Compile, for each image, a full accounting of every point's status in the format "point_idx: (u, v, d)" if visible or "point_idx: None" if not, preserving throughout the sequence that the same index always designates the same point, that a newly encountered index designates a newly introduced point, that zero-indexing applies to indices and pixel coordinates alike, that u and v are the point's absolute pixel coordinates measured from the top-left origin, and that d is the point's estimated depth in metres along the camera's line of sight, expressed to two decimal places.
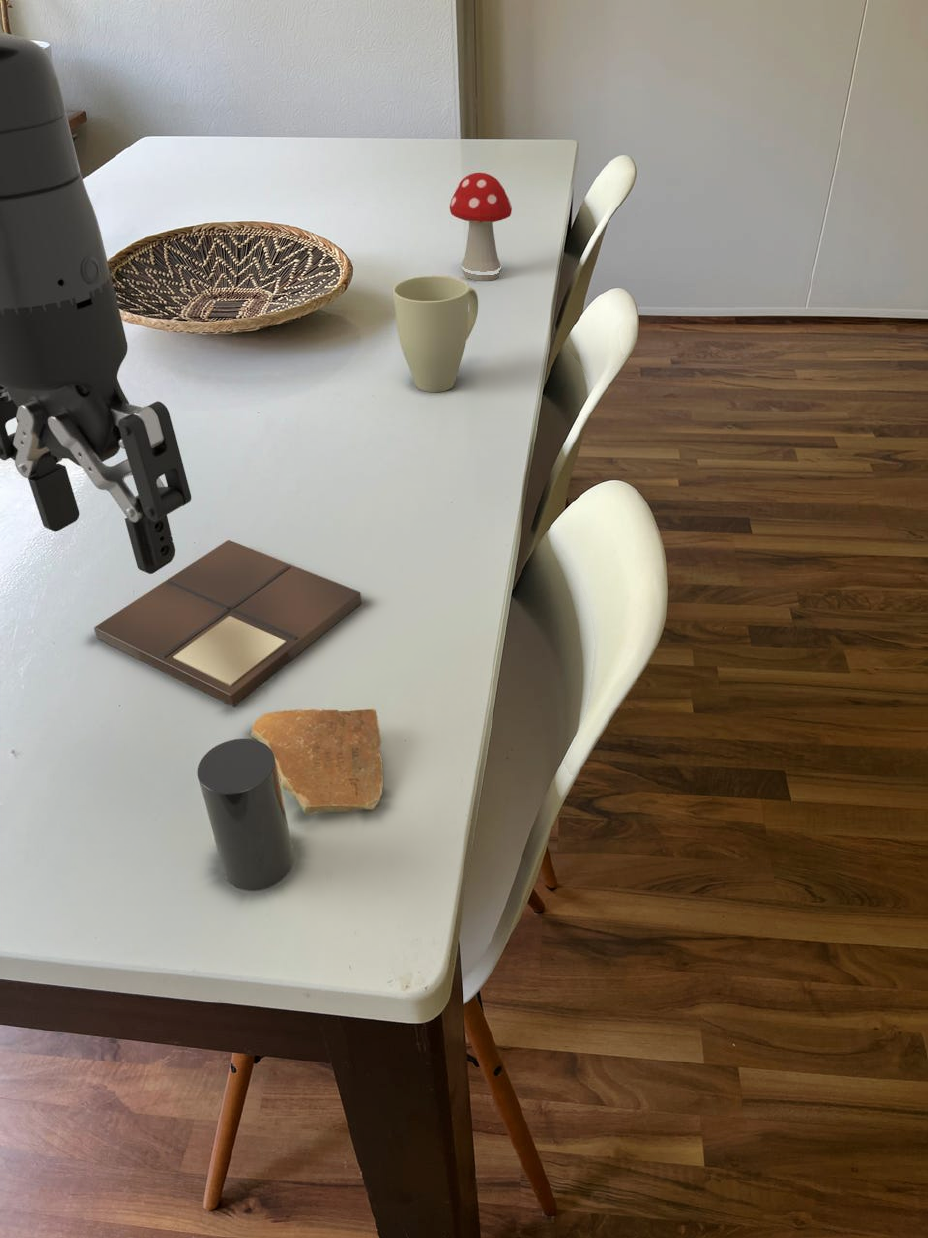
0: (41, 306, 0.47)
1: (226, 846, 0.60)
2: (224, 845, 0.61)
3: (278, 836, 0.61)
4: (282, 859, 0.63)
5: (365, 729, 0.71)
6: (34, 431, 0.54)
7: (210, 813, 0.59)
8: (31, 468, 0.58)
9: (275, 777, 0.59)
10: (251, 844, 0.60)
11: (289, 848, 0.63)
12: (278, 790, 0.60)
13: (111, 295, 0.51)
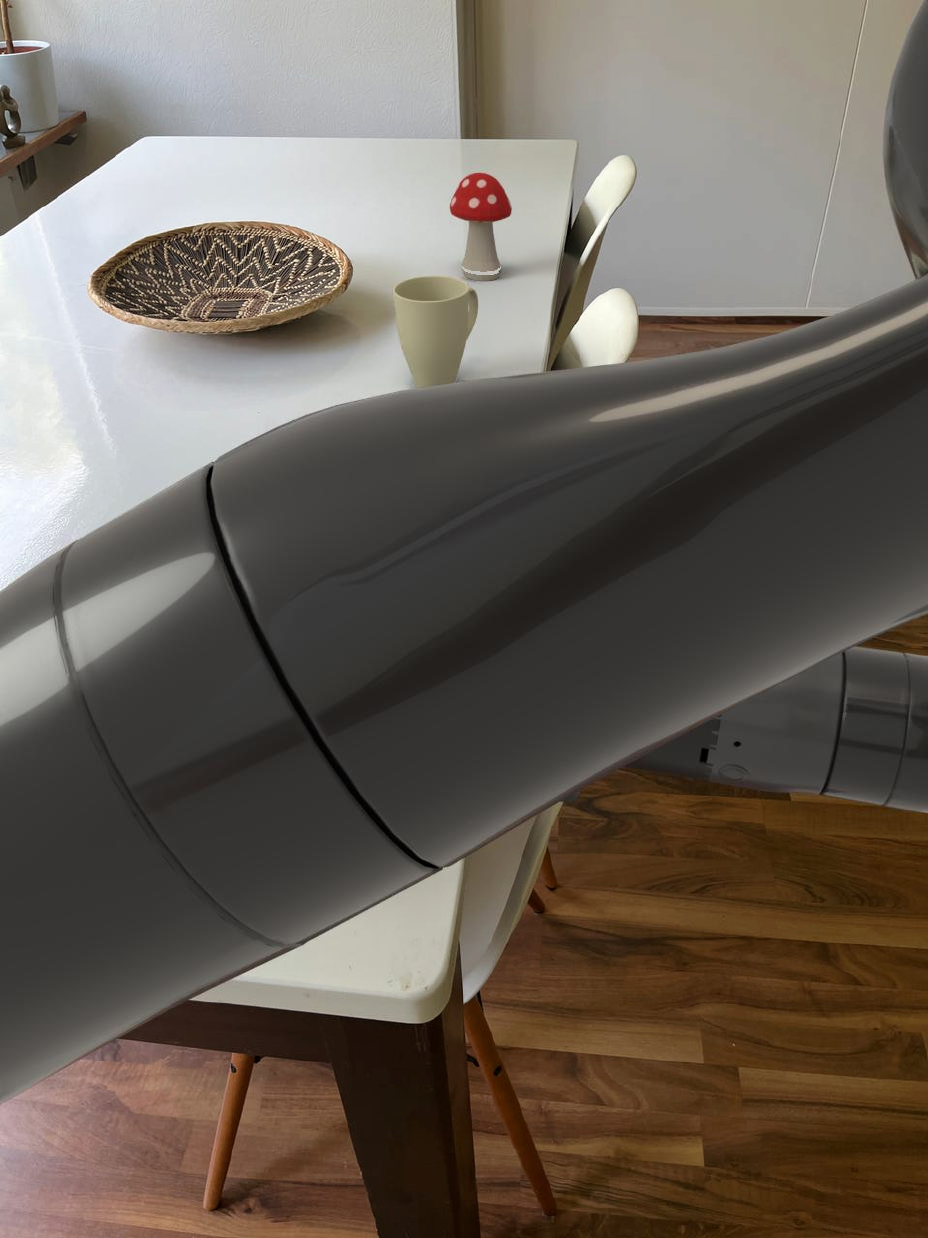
0: (720, 715, 0.43)
1: None
2: None
3: None
4: None
5: None
6: None
7: None
8: None
9: None
10: None
11: None
12: None
13: (692, 777, 0.45)
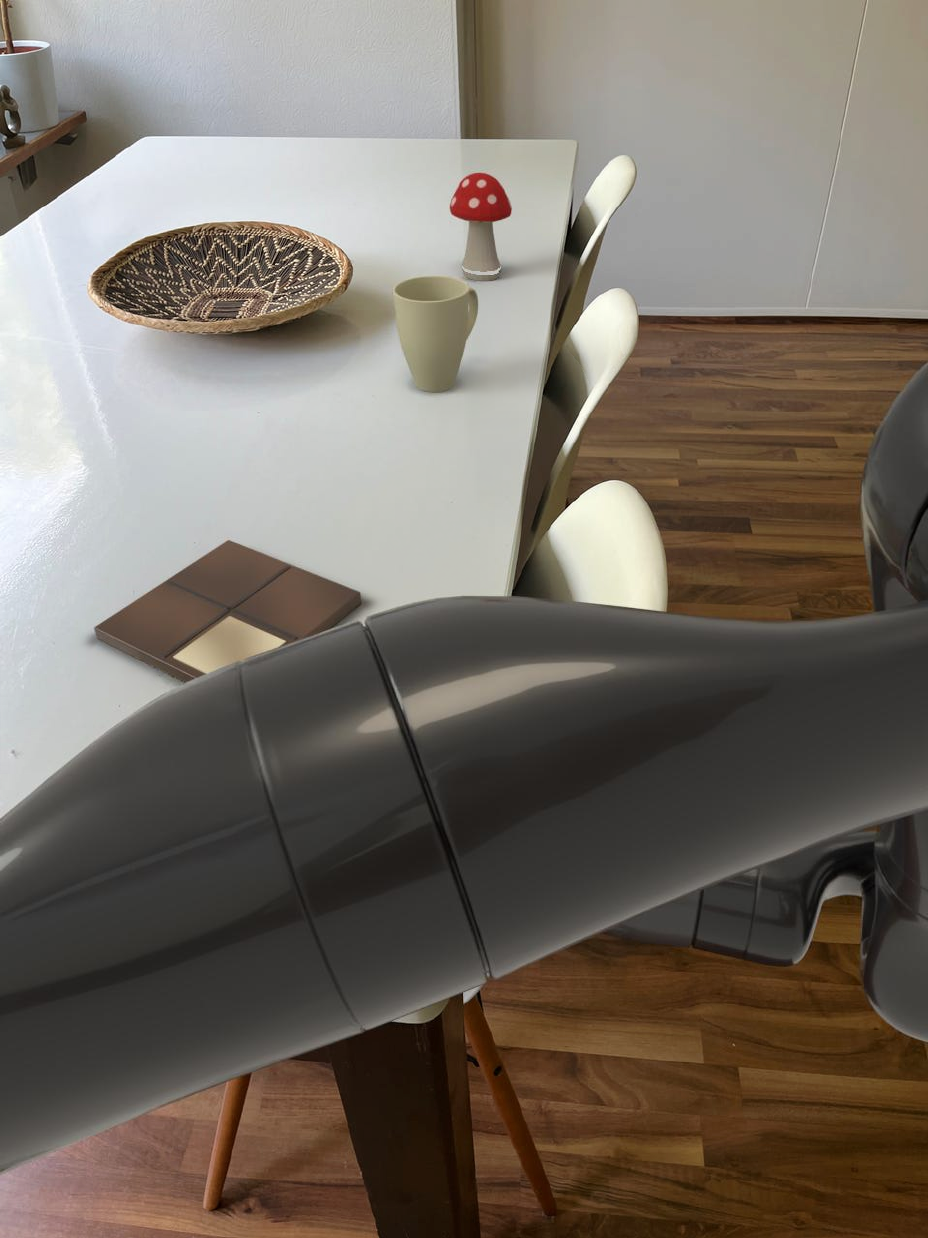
0: None
1: None
2: None
3: None
4: None
5: None
6: None
7: None
8: None
9: None
10: None
11: None
12: None
13: None
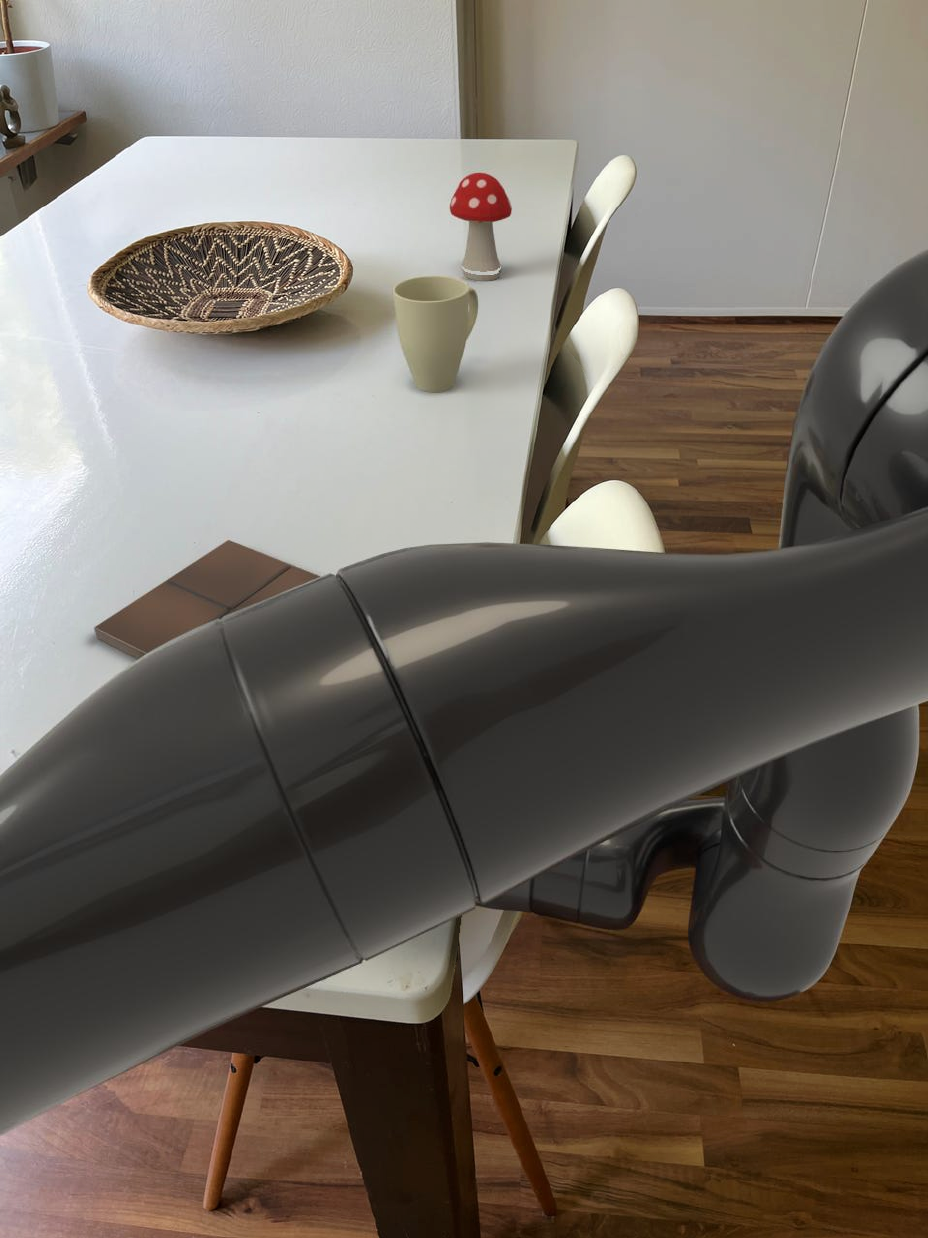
0: None
1: None
2: None
3: None
4: None
5: None
6: None
7: None
8: None
9: None
10: None
11: None
12: None
13: None
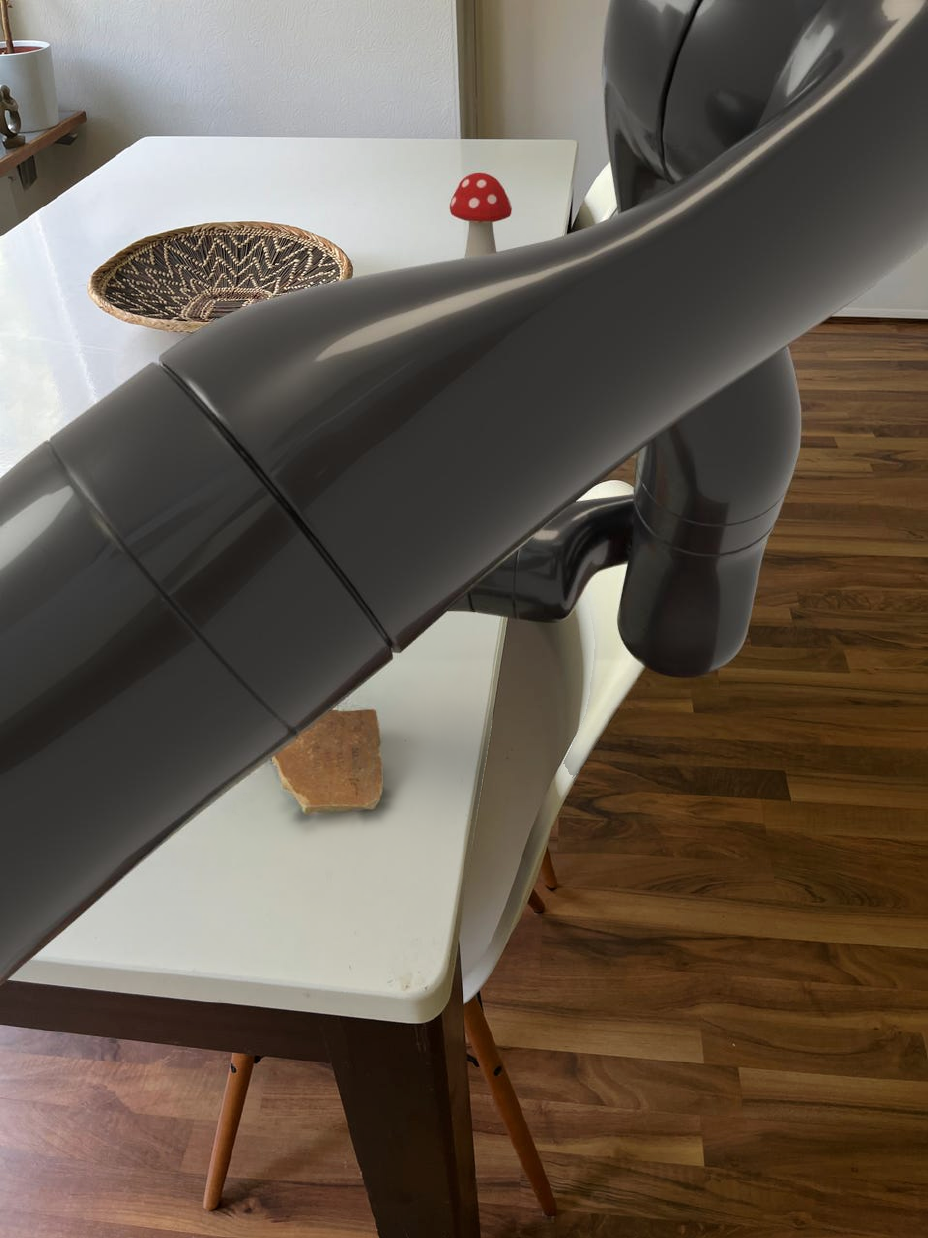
0: None
1: None
2: None
3: None
4: None
5: (365, 729, 0.71)
6: None
7: None
8: None
9: None
10: None
11: None
12: None
13: None
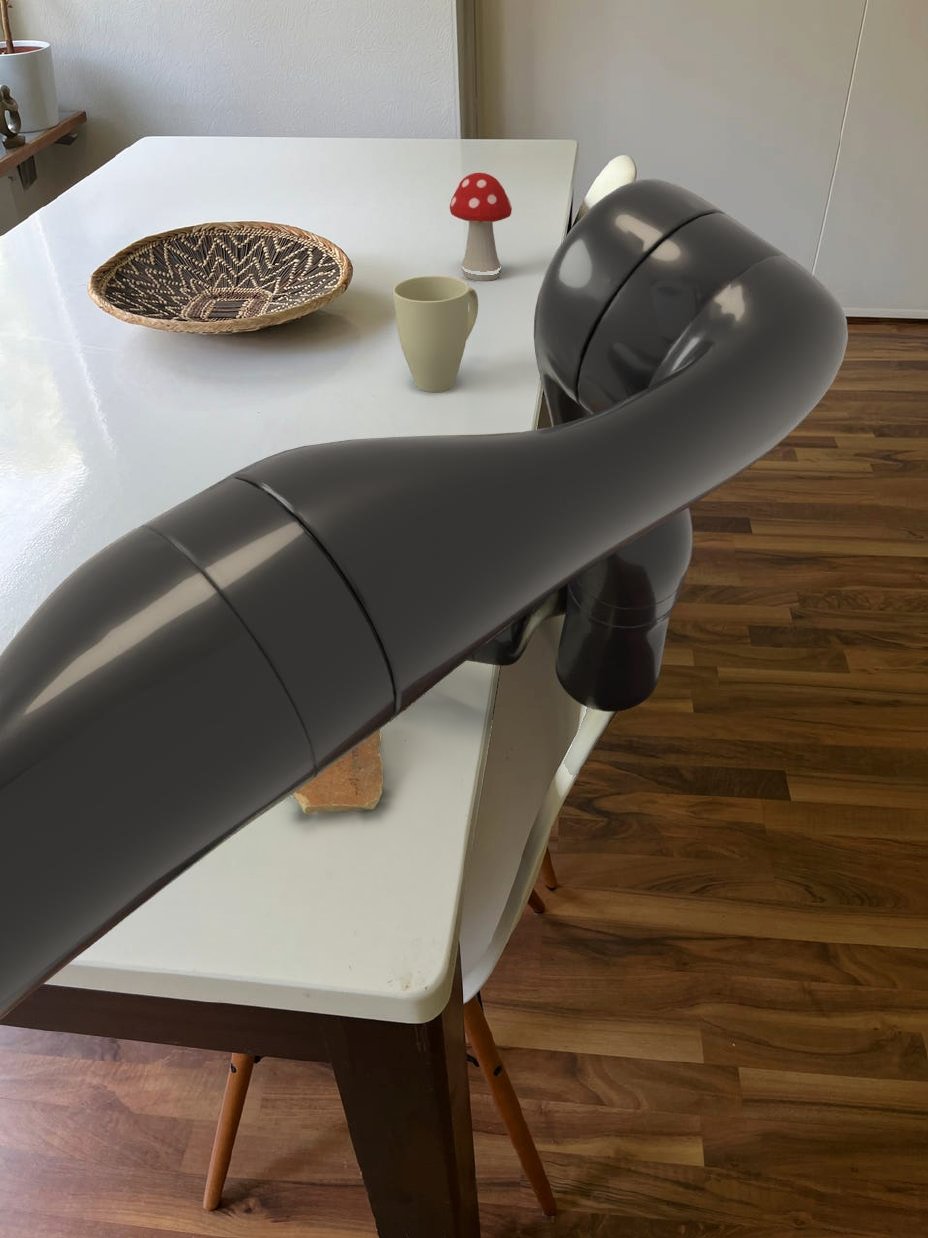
0: None
1: None
2: None
3: None
4: None
5: None
6: None
7: None
8: None
9: None
10: None
11: None
12: None
13: None
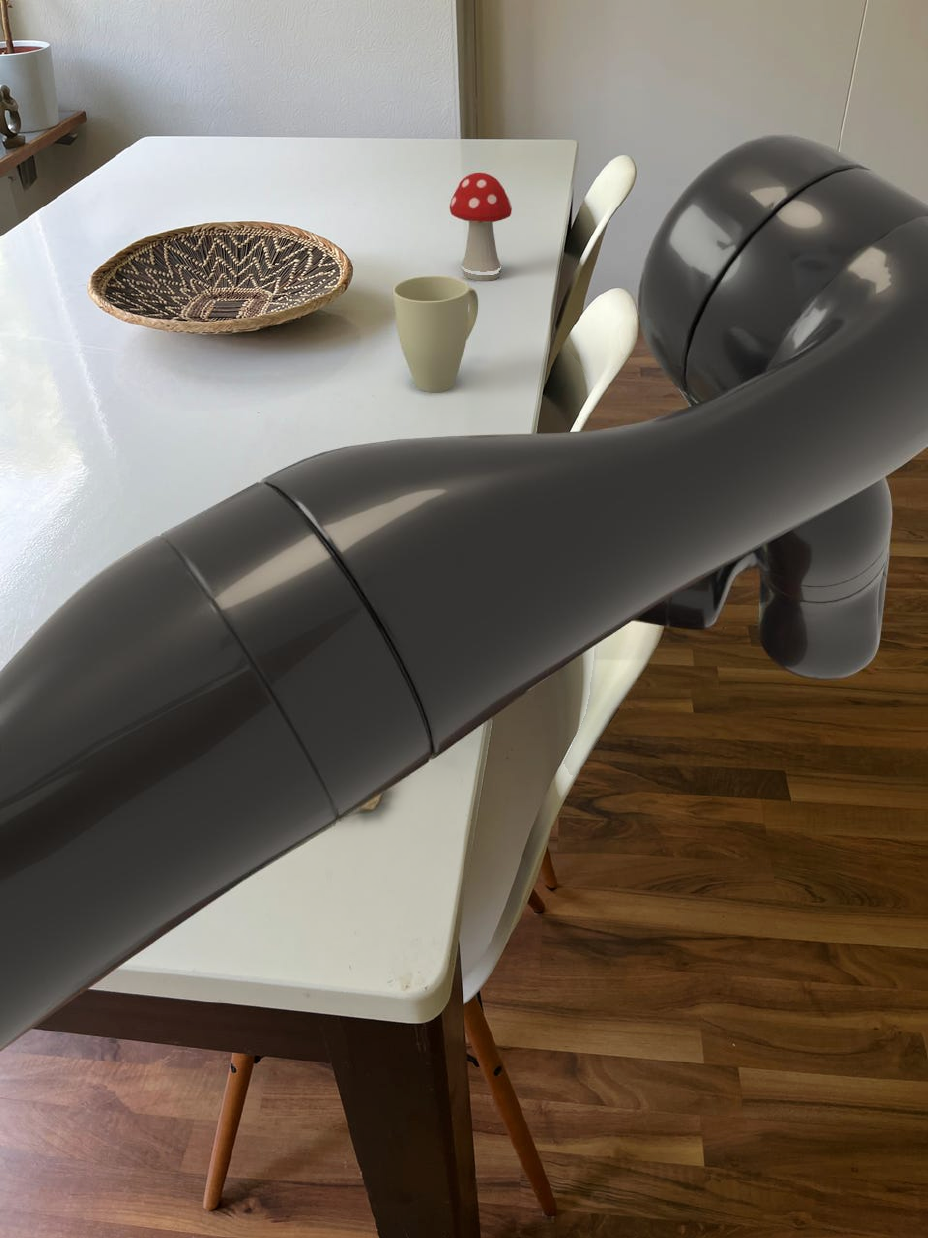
0: None
1: None
2: None
3: None
4: None
5: None
6: None
7: None
8: None
9: None
10: None
11: None
12: None
13: None
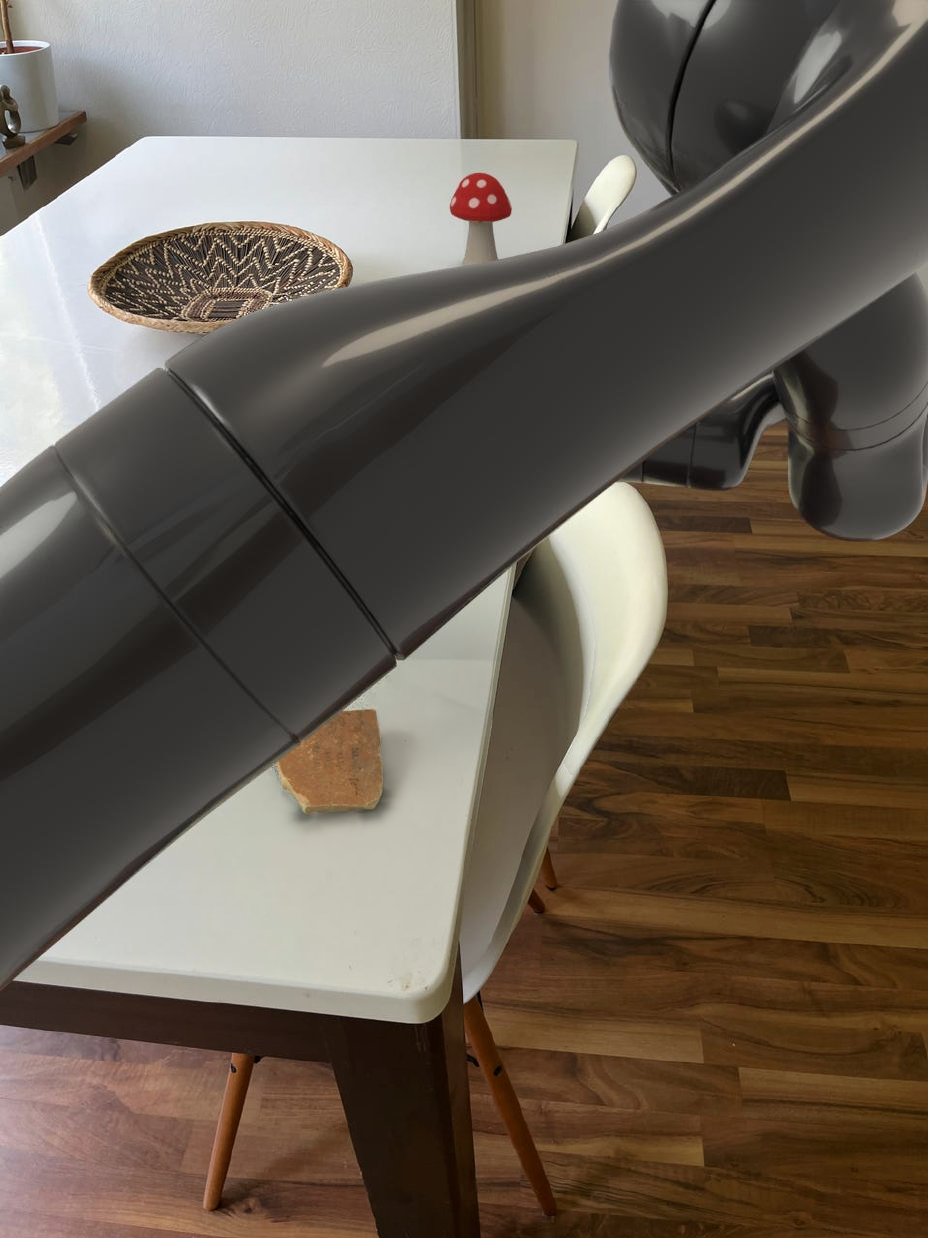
0: None
1: None
2: None
3: None
4: None
5: (365, 729, 0.71)
6: None
7: None
8: None
9: None
10: None
11: None
12: None
13: None
